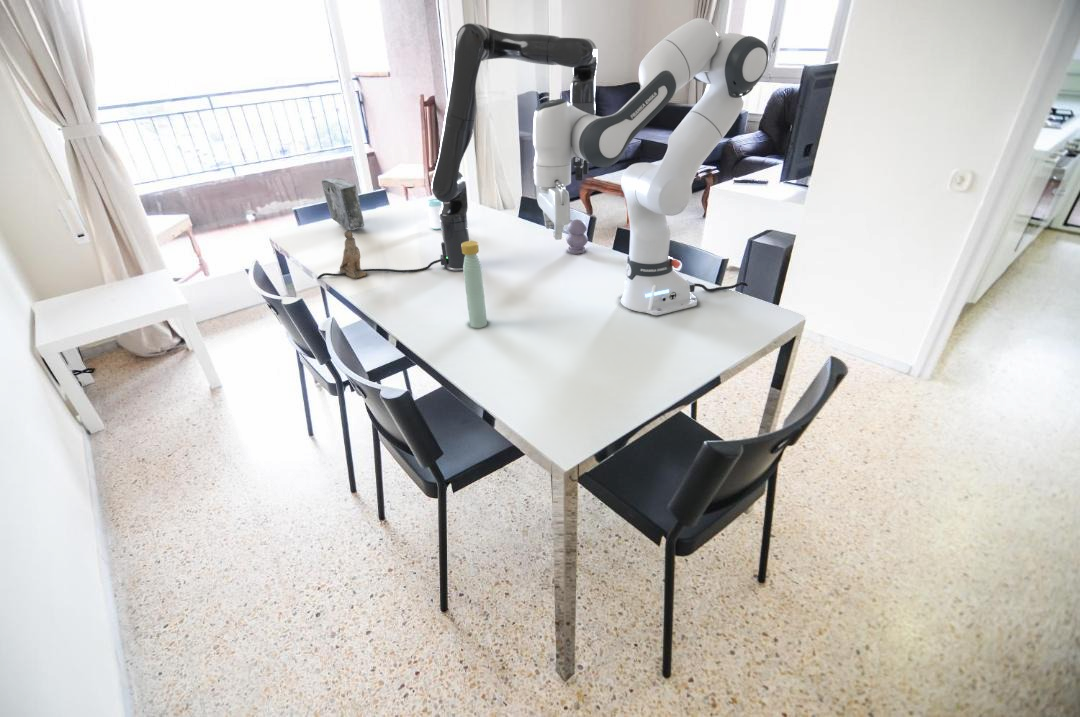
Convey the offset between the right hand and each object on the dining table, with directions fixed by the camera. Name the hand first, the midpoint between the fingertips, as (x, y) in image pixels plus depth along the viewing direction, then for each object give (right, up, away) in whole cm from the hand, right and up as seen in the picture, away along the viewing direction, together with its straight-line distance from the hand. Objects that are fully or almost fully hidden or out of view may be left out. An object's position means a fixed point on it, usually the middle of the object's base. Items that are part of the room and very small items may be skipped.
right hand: (553, 233), depth 126 cm
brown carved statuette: (-71, -1, +53) cm, 88 cm away
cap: (-22, -2, +4) cm, 22 cm away
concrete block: (-91, +28, +102) cm, 139 cm away
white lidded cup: (-49, +27, +97) cm, 112 cm away
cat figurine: (+11, +9, +65) cm, 66 cm away
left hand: (+10, +24, +28) cm, 38 cm away
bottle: (-21, -22, +16) cm, 34 cm away
